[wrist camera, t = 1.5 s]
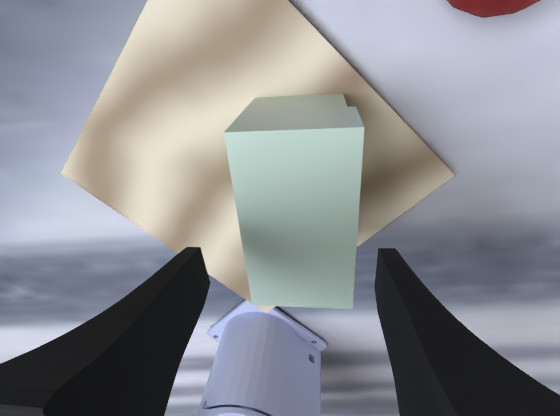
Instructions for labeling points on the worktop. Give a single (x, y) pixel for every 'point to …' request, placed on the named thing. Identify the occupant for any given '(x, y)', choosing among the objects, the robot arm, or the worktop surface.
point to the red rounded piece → (491, 6)
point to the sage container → (298, 197)
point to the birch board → (227, 124)
